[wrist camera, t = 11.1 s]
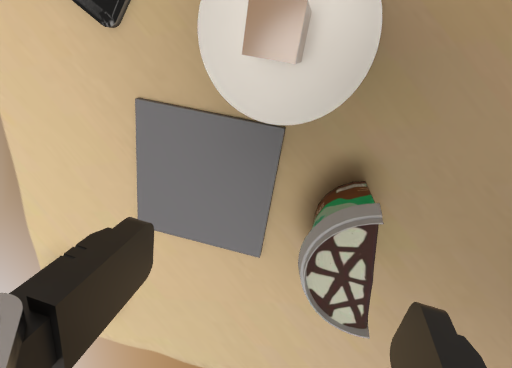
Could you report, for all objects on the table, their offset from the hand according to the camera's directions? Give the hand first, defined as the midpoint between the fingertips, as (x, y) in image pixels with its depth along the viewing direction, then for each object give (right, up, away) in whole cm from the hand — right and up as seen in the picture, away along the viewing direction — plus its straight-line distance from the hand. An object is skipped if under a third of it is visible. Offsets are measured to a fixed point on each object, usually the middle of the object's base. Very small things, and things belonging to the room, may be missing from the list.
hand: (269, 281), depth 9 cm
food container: (+8, -1, +24) cm, 25 cm away
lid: (+2, +14, +13) cm, 19 cm away
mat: (-6, +3, +25) cm, 26 cm away
